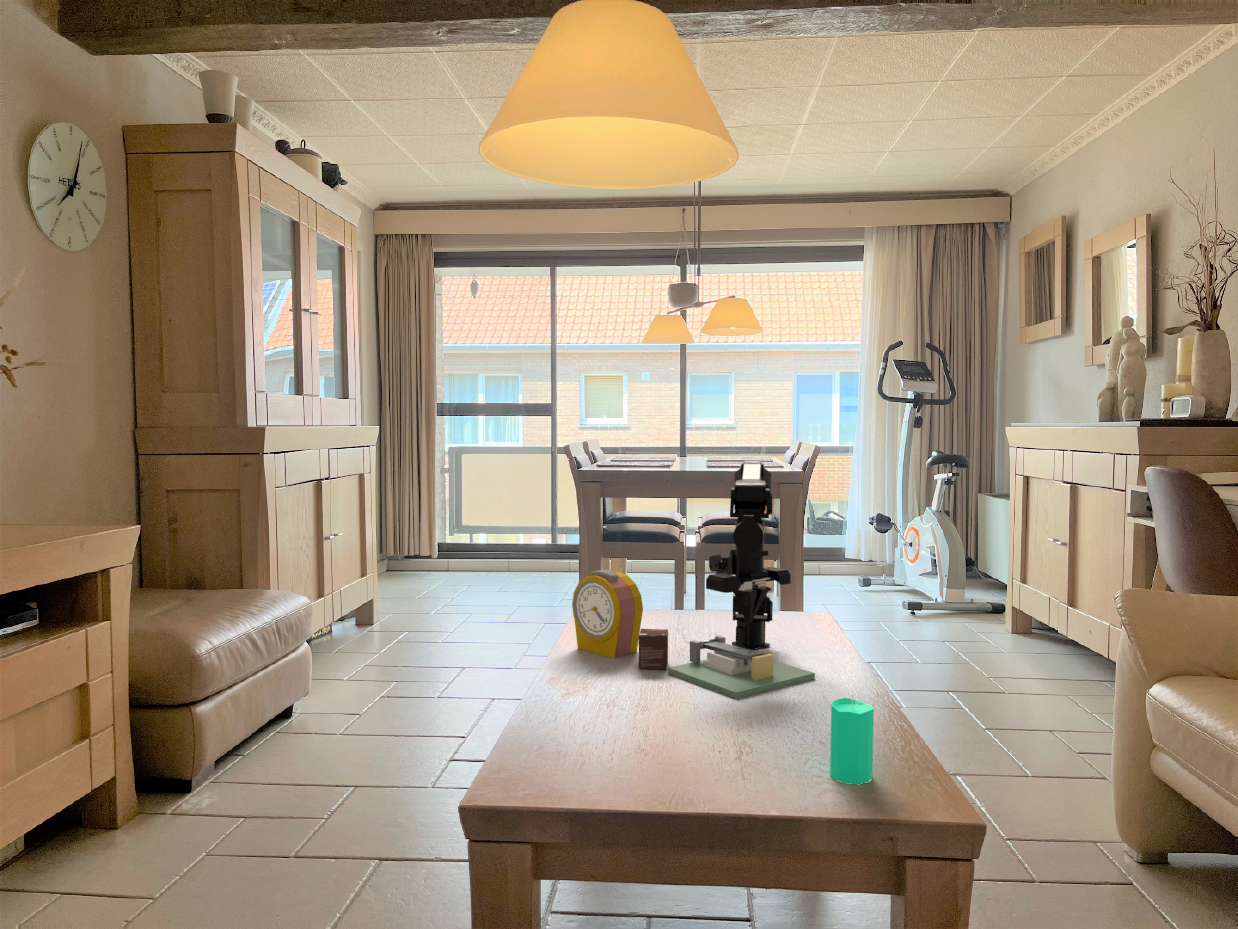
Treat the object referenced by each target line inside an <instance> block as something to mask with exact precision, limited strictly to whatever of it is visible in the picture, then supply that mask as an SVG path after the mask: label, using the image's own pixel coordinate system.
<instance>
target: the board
mask: <svg viewBox="0 0 1238 929" xmlns="http://www.w3.org/2000/svg"><path fill="white" fill-rule="evenodd" d="M714 639H718V641H719V642H722V643H726V637H724V636H722V635H716V636H714ZM667 674H668V675H672V676H675V677H677V678H679V679H682V680H685V681H687V682H690V683H693V684H696V685H697V686H701V687H704V688H706V689H709V690H711V691H714V692H717V693H719V694H722V695H724V696H728V697H729V698H730V697H731V698H733V699H736V700H737V699H741V698H745V697H749V696H752V695H756V694H760V693H765V692H768V691H769V692H770V691H773V690H777V689H781V688H783V687H785V688H786V687H788V686H792V685H797V684H799V683H805V682H807V681H808V682H809V681H811V680H815V678H816V673H815V672H812V671H809V670H806V669H803V668H801V667H797V666H793V665H790V664H786V663H783V662H781V661H777V660H774V654H773V653H767V654H765V655H761V656H756V657H752V661H751V660H747V659H743V658H739V657H736V656H732V655H728V654H724V653H721V652H717V651H714V652H712V651H707V652H706V659H703V660H701V649H700V641H698V640H690V641H689V662H688V663H684V664H677V665H674V666H667Z"/></svg>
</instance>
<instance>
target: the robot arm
mask: <svg viewBox="0 0 1238 929" xmlns="http://www.w3.org/2000/svg"><path fill="white" fill-rule="evenodd" d="M764 463H765V462H762V461H754V460H753V461H750V460H748V461H747V460H744V461H741V463H740V468H739V469H738V470H737V471H735V472H734V477H733V478H734V482H733V483H734V484H733V487H731V488H730V505H729V506H730V507H729V518H737V519H736V521H735V524H734V525H735V527H734V528H735V529H734V531H733V534H732V538H733V542H734V546H735V547H734V548H730V550H729V556H727V557H722V555H721V554H714V555H710V556H709V558H708V567H709V570H710V572H712V573H713V574H709V575H708V576H707V577H706V578H705V579H706V580H705V589H706V590H710V591H716V592H720V593H724V594H725V593H733V594H732V621H734V622H735V621H736V627H735V641H732V642H731V645H734V646H738V647H741V648H745V649H749V650H753V651H755V650H759V649H764V648H766V647H767V648H768V647H770V646H771V644H770V643H768V642H766V623H770V622H772V621H773V605H774V604H773V603H774V602H773V601H772V600H771V598H770V597H771V595H767V594H768V593H769V592H770V591H772V587H769V586H767V582H772V581H773V582H777V584H779V585H781V586H783V585H785V586H786V585H790V584H791V573H790V572H789V570H788V569H785V568H780V567H775V566H774V567H773V566H769V567H765V564H764V562H765V561H764V560H765V557H768V556H769V550H767V549H765V521H764V519H770V515H772V514H773V493H772V472H770V471H769V470H768V469H767V468H766V467H765V464H764ZM765 512H766V513H765ZM714 572H715V573H714Z"/></svg>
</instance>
